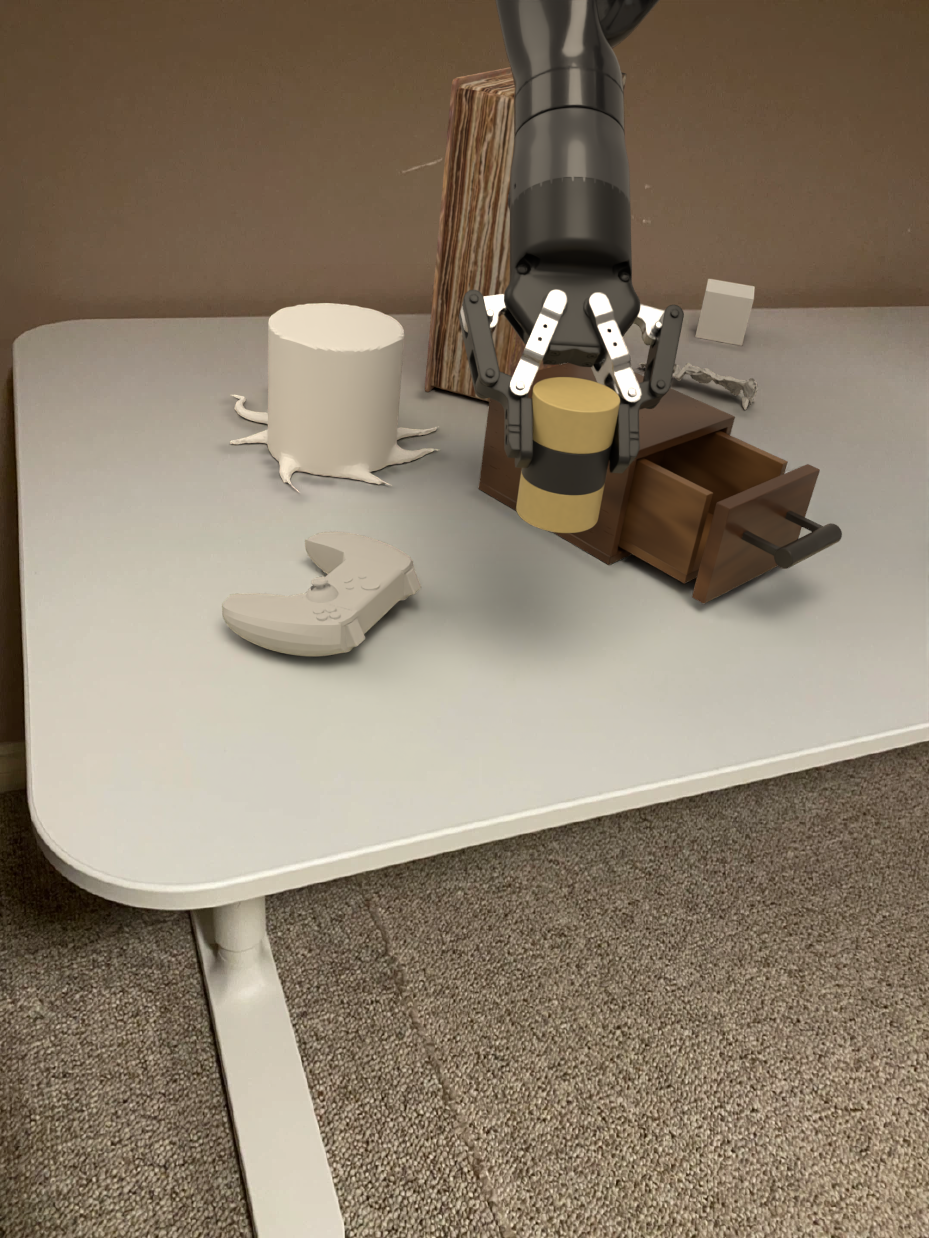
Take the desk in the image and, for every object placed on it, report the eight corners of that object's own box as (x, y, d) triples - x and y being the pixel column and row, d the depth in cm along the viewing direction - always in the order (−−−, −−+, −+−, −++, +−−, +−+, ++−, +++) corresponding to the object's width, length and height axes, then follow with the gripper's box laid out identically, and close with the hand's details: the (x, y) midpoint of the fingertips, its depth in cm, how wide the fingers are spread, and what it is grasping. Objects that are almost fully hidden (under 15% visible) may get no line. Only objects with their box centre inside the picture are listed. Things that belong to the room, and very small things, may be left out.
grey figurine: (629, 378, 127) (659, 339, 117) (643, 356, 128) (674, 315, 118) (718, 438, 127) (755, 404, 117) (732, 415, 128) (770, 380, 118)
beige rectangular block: (697, 323, 144) (708, 278, 140) (743, 332, 143) (754, 286, 139) (695, 337, 139) (705, 290, 135) (742, 346, 138) (753, 299, 134)
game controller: (319, 516, 83) (434, 529, 79) (328, 567, 85) (440, 583, 81) (203, 599, 72) (329, 621, 68) (216, 656, 74) (339, 680, 70)
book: (503, 413, 112) (544, 95, 95) (422, 391, 114) (449, 78, 98) (582, 345, 132) (628, 72, 115) (512, 328, 134) (547, 59, 118)
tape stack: (614, 518, 68) (638, 400, 64) (559, 541, 65) (579, 418, 61) (555, 486, 71) (573, 370, 67) (499, 506, 68) (514, 387, 64)
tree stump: (487, 445, 105) (503, 326, 98) (371, 523, 90) (380, 388, 83) (281, 375, 114) (282, 262, 107) (144, 435, 99) (135, 308, 92)
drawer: (840, 583, 88) (872, 492, 83) (753, 633, 80) (783, 536, 76) (657, 489, 99) (676, 404, 94) (565, 525, 91) (581, 434, 87)
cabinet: (708, 521, 96) (735, 416, 91) (608, 565, 88) (632, 452, 82) (579, 455, 105) (596, 355, 100) (478, 488, 97) (491, 382, 91)
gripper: (463, 162, 63) (460, 438, 60) (701, 182, 65) (710, 452, 62) (448, 231, 70) (445, 480, 67) (662, 248, 72) (669, 491, 69)
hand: (572, 465), depth 64 cm, fingers closed on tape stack, 5 cm apart
